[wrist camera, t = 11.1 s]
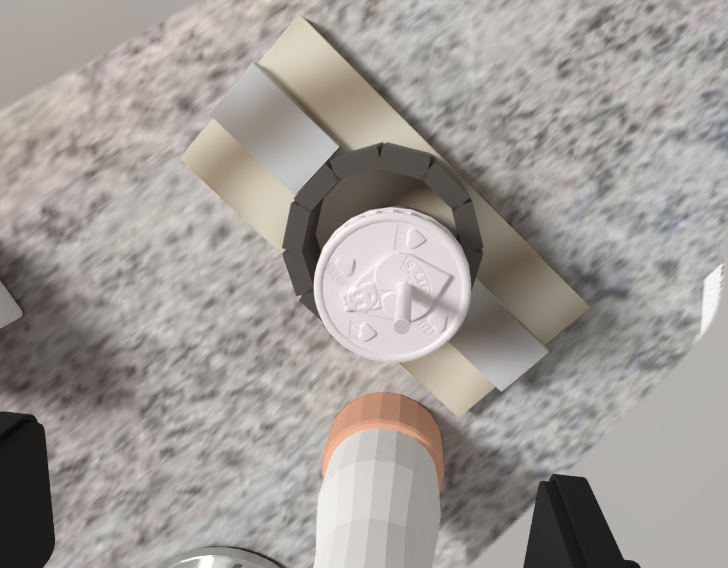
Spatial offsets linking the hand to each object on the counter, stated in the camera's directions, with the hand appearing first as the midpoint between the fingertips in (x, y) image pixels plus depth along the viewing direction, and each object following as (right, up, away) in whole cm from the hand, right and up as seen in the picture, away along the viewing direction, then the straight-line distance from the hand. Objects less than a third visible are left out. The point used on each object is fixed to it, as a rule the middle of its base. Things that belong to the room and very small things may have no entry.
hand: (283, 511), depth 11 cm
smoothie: (+3, +7, +22) cm, 23 cm away
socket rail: (+3, +7, +23) cm, 24 cm away
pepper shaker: (+3, -6, +27) cm, 28 cm away
